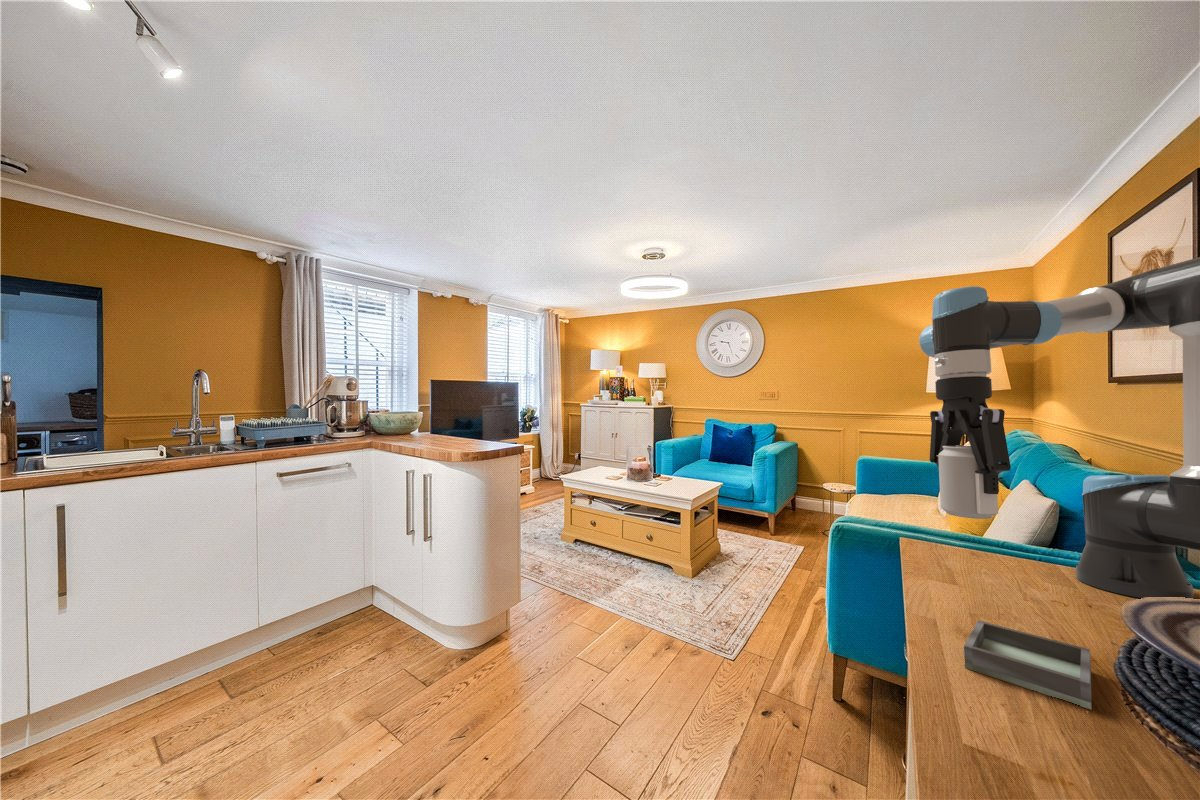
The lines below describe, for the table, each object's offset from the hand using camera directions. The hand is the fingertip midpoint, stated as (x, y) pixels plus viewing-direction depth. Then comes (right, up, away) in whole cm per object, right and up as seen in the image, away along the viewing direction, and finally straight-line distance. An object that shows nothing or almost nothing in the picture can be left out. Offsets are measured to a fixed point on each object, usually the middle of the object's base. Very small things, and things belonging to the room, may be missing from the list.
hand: (968, 508), depth 74 cm
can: (0, -1, 0) cm, 1 cm away
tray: (-5, -19, -15) cm, 24 cm away
